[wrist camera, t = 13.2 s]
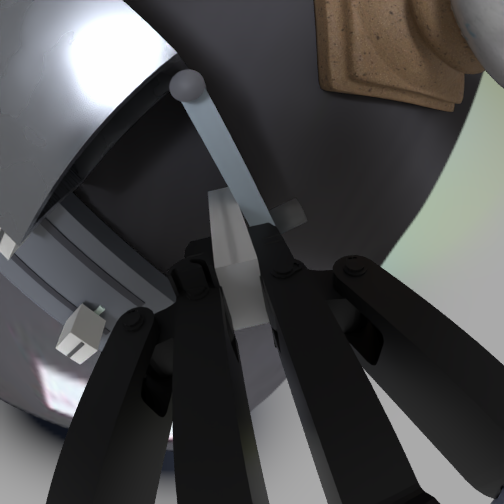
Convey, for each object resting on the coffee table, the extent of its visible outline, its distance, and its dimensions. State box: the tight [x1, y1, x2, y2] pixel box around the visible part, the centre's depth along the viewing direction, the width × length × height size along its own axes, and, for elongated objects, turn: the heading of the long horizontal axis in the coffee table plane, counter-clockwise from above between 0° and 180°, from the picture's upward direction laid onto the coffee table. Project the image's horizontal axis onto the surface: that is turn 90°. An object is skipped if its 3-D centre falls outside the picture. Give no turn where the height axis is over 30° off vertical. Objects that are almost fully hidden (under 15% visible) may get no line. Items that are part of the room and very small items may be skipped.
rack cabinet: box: [0, 0, 189, 246], centre depth 8 cm, size 10×10×8 cm
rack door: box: [169, 69, 307, 234], centre depth 13 cm, size 3×10×7 cm, turn 25°
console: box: [0, 192, 176, 351], centre depth 17 cm, size 22×10×2 cm, turn 37°
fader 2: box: [56, 303, 106, 364], centre depth 17 cm, size 2×3×3 cm
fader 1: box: [0, 228, 31, 260], centre depth 12 cm, size 2×3×3 cm
